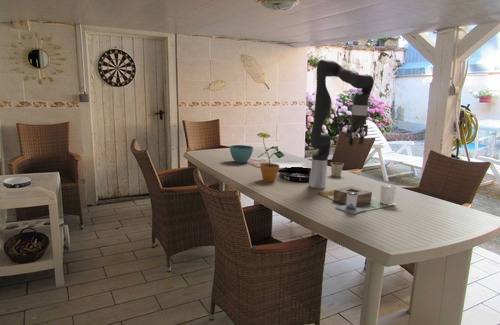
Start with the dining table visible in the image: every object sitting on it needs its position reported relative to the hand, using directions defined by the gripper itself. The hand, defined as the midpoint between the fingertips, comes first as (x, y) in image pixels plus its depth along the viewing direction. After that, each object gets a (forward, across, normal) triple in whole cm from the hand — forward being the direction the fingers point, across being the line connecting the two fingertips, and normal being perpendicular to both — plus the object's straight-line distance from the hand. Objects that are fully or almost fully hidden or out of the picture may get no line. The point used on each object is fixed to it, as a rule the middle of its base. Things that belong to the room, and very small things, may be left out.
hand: (355, 144), depth 201 cm
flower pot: (+32, -42, -45) cm, 69 cm away
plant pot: (+34, -9, -113) cm, 118 cm away
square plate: (+34, -27, -79) cm, 91 cm away
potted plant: (+32, +10, -56) cm, 65 cm away
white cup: (+31, -14, +14) cm, 36 cm away
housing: (+31, 0, +2) cm, 31 cm away
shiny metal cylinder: (+30, +13, +11) cm, 34 cm away
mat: (+30, +13, +11) cm, 35 cm away
